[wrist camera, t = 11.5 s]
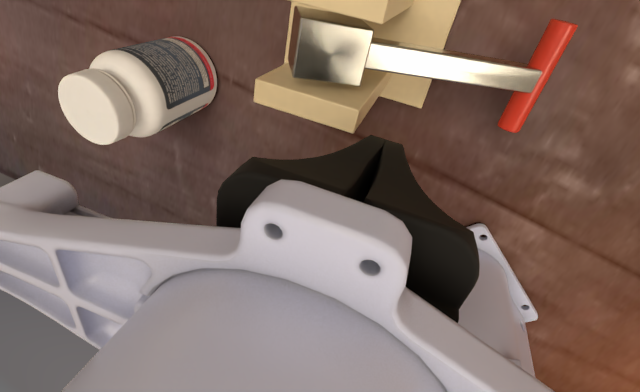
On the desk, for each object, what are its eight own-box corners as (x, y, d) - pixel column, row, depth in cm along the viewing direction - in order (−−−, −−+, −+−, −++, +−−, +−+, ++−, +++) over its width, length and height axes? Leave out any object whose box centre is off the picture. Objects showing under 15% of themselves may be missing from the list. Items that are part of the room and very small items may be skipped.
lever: (556, 18, 16) (596, 30, 14) (503, 119, 19) (531, 140, 17) (299, -36, 14) (306, -30, 12) (283, 91, 16) (287, 112, 14)
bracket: (470, -28, 18) (478, -30, 10) (423, 102, 22) (401, 174, 14) (307, -65, 19) (203, -92, 12) (290, 64, 23) (204, 108, 16)
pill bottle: (166, 19, 25) (46, 38, 18) (228, 62, 25) (134, 97, 18) (152, 84, 28) (46, 121, 21) (207, 121, 28) (121, 171, 21)
